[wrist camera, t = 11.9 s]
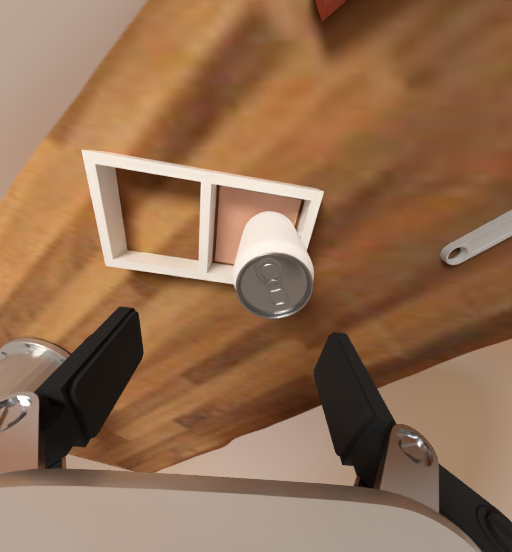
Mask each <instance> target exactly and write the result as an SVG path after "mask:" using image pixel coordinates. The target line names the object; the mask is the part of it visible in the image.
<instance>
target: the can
mask: <svg viewBox="0 0 512 552" xmlns="http://www.w3.org/2000/svg"><path fill="white" fill-rule="evenodd" d="M313 280H314V269H313V265H312V262H311V259H310V257H309V255H308V253H307V251H306V249H305V247H304V245H303V243H302V241H301V239H300V237H299V235H298V233H297V231H296V229H295V228H294V226H293V224H292V222H291V221H290V220H289V219H288V218H287V217H286V216H284V215H283V214H281V213H278V212H274V211H265V212H261V213H259V214H257V215H255V216H254V217H252V218H251V219H250V220H249V221H248V223H247V224H246V226H245V228H244V231H243V234H242V237H241V241H240V245H239V248H238V252H237V256H236V260H235V264H234V269H233V283H234V286H235V289H236V294H237V297H238V299H239V301H240V303H241V304H242V305H243V307H244V308H245V309H247V310H248V311H249V312H251V313H252V314H254V315H256V316H259V317H262V318H267V319H280V318H285V317H288V316H291V315H293V314H295V313H296V312H298V311H299V310H301V309H302V308H303V307H304V306H305V305H306V304H307V302H308V301H309V299H310V297H311V295H312V291H313Z"/></svg>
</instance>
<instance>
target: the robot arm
mask: <svg viewBox="0 0 512 552" xmlns="http://www.w3.org/2000/svg"><path fill="white" fill-rule="evenodd" d="M142 357H143V344H142V337H141V329H140V321H139V314H138V312H135V309H134V308H128V307H119V308H117V310H116V311H115V312H114V313H113V314H112V315H111V316H110V317H109V318H108V319H107V320H106V321H105V322H104V323H103V324H102V325H101V326H100V327H99V328H98V329H97V330H96V331H95V332H94V333H93V334H91V335H90V336H89V337H88V338H87V339H86V340H85V341H84V342H83V343H82V344H81V345H80V346H79V347H78V348H77V349H76V350H75V351H74V352H73V353H72V354H71V355H70V354H68V353H67V352H66V351H64V350H63V349H61V348H60V347H58V346H56V345H54V344H51V343H49V342H46V341H43V340H39V339H33V338H18V339H14V340H11V341H10V342H8V343H7V344H5V345H4V346H3V347H2V348H1V349H0V360H1V361H0V552H512V522H511V521H510V520H509V519H508V518H507V517H506V516H505V515H503V514H502V513H501V512H500V511H499V510H498V509H496V508H495V507H494V506H493V505H491V504H490V503H489V502H487V501H486V500H485V499H483V498H482V497H481V496H480V495H478V494H477V493H476V492H475V491H473V490H472V489H471V488H469V487H468V486H467V485H466V484H464V483H463V482H462V481H460V480H459V479H458V478H457V477H455V476H454V475H453V474H451V473H450V472H449V471H448V470H446V469H445V468H443V467H442V466H441V465H440V464H439V462H438V457H437V455H436V453H435V451H434V449H433V447H432V446H431V445H430V443H429V442H428V441H427V440H426V439H425V438H424V436H423V435H421V434H420V433H419V432H418V431H416V430H415V429H413V428H411V427H410V426H407V425H404V424H396V423H395V421H394V419H393V417H392V415H391V413H390V411H389V410H388V408H387V406H386V404H385V402H384V401H383V399H382V397H381V395H380V393H379V391H378V390H377V388H376V386H375V384H374V382H373V381H372V379H371V377H370V375H369V373H368V372H367V370H366V368H365V366H364V365H363V363H362V361H361V359H360V358H359V356H358V354H357V352H356V350H355V348H354V347H353V345H352V343H351V341H350V339H349V338H348V336H347V334H345V333H337V332H333V333H332V335H329V336H328V339H327V341H326V343H325V346H324V348H323V350H322V353H321V355H320V358H319V360H318V362H317V365H316V367H315V370H314V378H315V382H316V385H317V389H318V393H319V396H320V400H321V403H322V406H323V410H324V414H325V417H326V421H327V424H328V428H329V431H330V435H331V439H332V442H333V446H334V449H335V452H336V454H337V455H338V456H340V459H341V462H342V465H349V466H354V468H355V471H356V474H357V477H356V480H355V484H354V486H343V485H332V484H319V483H305V482H290V481H276V480H260V479H245V478H229V477H212V476H197V475H180V474H163V473H145V472H128V471H110V470H84V469H83V470H82V469H66V457H65V456H66V455H67V454H68V453H69V451H70V450H71V448H72V447H73V446H76V447H86V445H87V444H88V442H89V440H90V439H91V438H94V437H95V436H96V435H97V434H98V433H99V431H100V429H101V428H102V426H103V424H104V422H105V421H106V419H107V417H108V416H109V414H110V412H111V411H112V409H113V407H114V405H115V404H116V402H117V400H118V399H119V397H120V395H121V394H122V392H123V390H124V389H125V387H126V385H127V383H128V382H129V380H130V378H131V377H132V375H133V373H134V372H135V370H136V368H137V366H138V365H139V363H140V361H141V360H142Z"/></svg>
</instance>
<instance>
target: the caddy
mask: <svg viewBox="0 0 512 552" xmlns="http://www.w3.org/2000/svg"><path fill="white" fill-rule="evenodd" d="M82 155H83V160H84V164H85V169H86V174H87V179H88V183H89V188H90V193H91V198H92V202H93V207H94V212H95V217H96V221H97V226H98V231H99V236H100V241H101V245H102V250H103V255H104V260H105V264H106V266H111V267H117V268H124V269H131V270H138V271H145V272H152V273H159V274H166V275H173V276H180V277H186V278H193V279H200V280H207V281H214V282H221V283H228V284H234V283H233V269H234V266H230V265H224V264H217V263H212V255H213V238H214V222H215V205H216V189H217V185H222V186H220V193H219V208H218V223H217V238H216V252H215V261H217V262H224V263H231V264H235V260H236V256H237V252H238V248H239V245H240V241H241V237H242V234H243V231H244V228H245V226H246V224H247V223H248V221H249V220H250V219H251V218H252V217H254V216H255V215H257V214H259V213H261V212H265V211H274V212H278V213H281V214H283V215H284V216H286V217H287V218H288V219H289V220H290V221H291V222H292V224H293V226H294V228H295V224H296V220H297V216H298V212H299V208H300V204H301V199H304V204H303V208H302V212H301V216H300V220H299V224H298V228H297V233H298V235H299V237H300V239H301V241H302V243H303V245H304V247H305V249H306V251H307V248H308V245H309V241H310V238H311V234H312V231H313V227H314V224H315V221H316V217H317V214H318V210H319V207H320V203H321V200H322V197H323V193H324V192H323V191H321V190H319V189H317V188H311V187H305V186H300V185H294V184H288V183H282V182H277V181H271V180H265V179H259V178H254V177H248V176H242V175H236V174H231V173H225V172H219V171H213V170H208V169H202V168H196V167H190V166H185V165H179V164H173V163H167V162H162V161H156V160H150V159H144V158H139V157H133V156H127V155H121V154H116V153H110V152H104V151H92V150H82ZM115 167H116V168H122V169H128V170H134V171H140V172H146V173H152V174H158V175H163V176H169V177H175V178H181V179H187V180H193V181H199V182H201V198H200V235H199V261H197V260H190V259H184V258H177V257H170V256H163V255H157V254H150V253H143V252H137V251H130V250H127V244H126V237H125V231H124V224H123V217H122V210H121V204H120V197H119V190H118V184H117V177H116V170H115ZM225 186H228V187H225ZM230 187H234V188H230ZM236 188H240V189H236ZM242 189H246V190H242ZM248 190H252V191H248ZM254 191H257V192H254ZM260 192H263V193H260ZM266 193H269V194H266ZM272 194H275V195H272ZM277 195H281V196H277ZM283 196H287V197H283ZM289 197H293V198H289ZM295 198H298V199H295Z"/></svg>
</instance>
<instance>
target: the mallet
mask: <svg viewBox="0 0 512 552" xmlns="http://www.w3.org/2000/svg"><path fill="white" fill-rule="evenodd" d="M315 1H316V4H317V8H318V11H319V14H320V17H321V20H322V22H323V21H324V20H325V19H326V18H327V17H328V16H329V15H331V14H332V13H333V12H334V11H335V10H336V9H337V8H338V7H340V6H341V5H342V4H343V3H344V2H345V1H346V0H315Z"/></svg>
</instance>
